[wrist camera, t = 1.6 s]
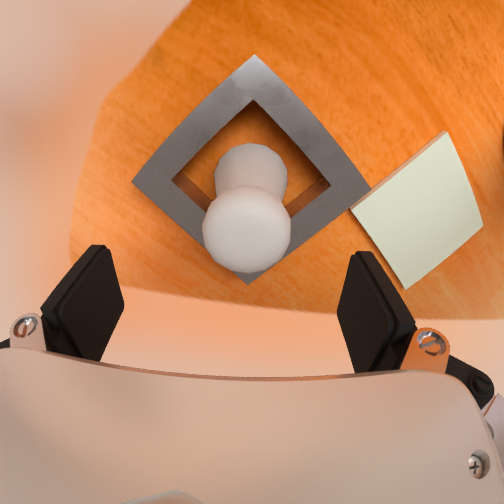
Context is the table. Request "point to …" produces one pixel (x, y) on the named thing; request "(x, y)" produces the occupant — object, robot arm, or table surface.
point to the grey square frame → (290, 120)
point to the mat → (421, 211)
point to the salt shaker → (248, 210)
